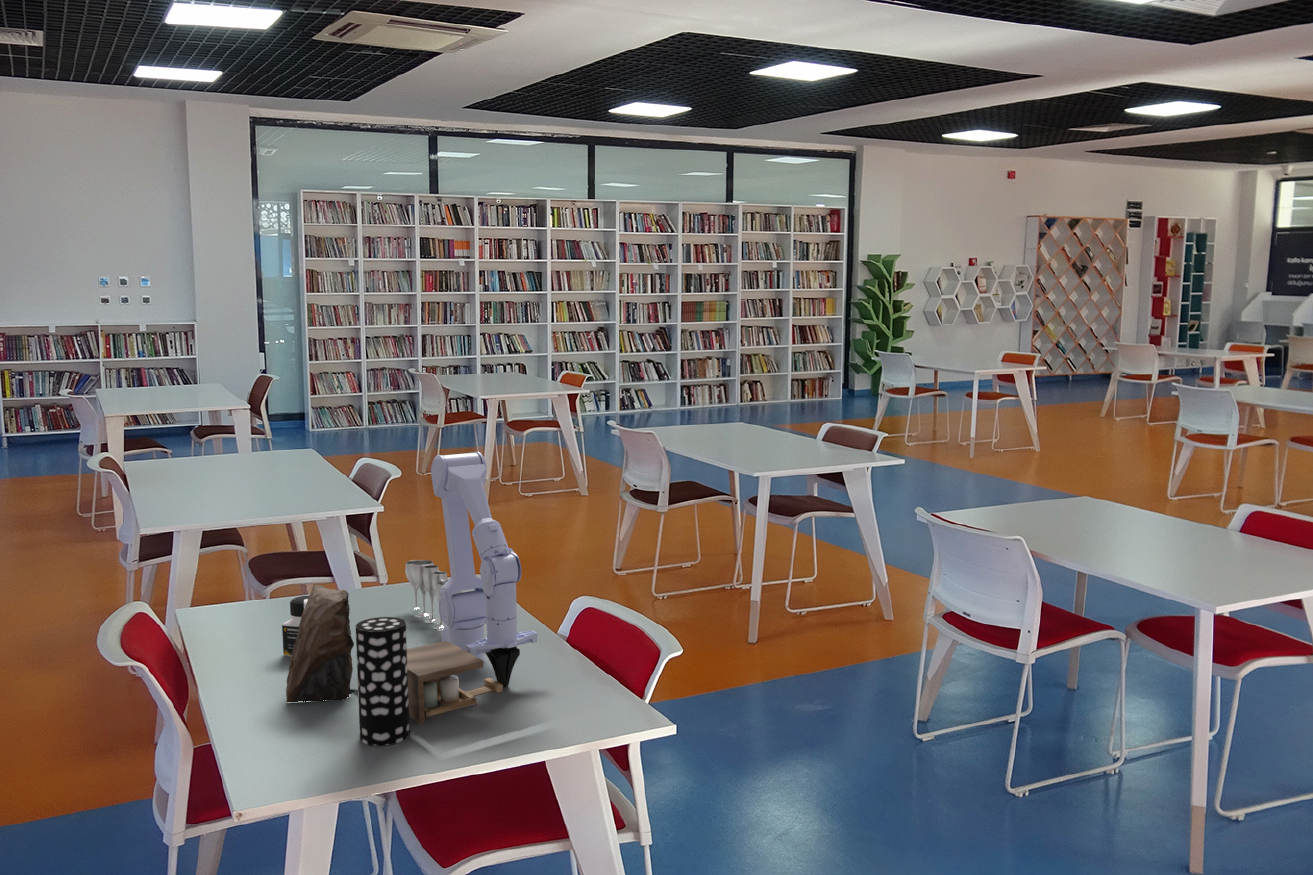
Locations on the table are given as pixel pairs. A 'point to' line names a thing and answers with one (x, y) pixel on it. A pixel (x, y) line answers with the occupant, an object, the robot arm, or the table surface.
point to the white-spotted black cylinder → (382, 680)
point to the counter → (434, 670)
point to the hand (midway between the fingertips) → (503, 684)
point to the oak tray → (464, 697)
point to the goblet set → (426, 582)
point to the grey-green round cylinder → (430, 694)
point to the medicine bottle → (293, 624)
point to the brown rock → (322, 649)
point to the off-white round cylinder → (449, 688)
